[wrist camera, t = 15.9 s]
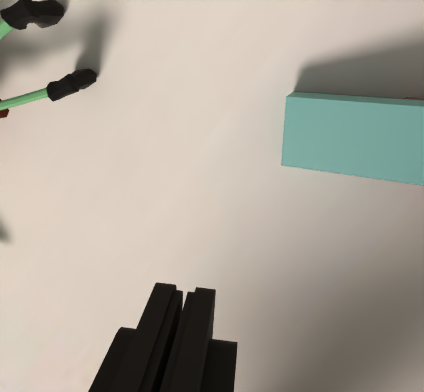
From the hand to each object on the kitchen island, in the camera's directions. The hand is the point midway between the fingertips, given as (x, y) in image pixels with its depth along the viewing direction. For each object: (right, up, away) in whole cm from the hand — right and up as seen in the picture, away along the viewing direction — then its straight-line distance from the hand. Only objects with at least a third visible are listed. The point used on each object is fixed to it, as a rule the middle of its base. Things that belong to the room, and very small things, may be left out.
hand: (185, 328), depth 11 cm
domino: (+6, +9, +17) cm, 20 cm away
